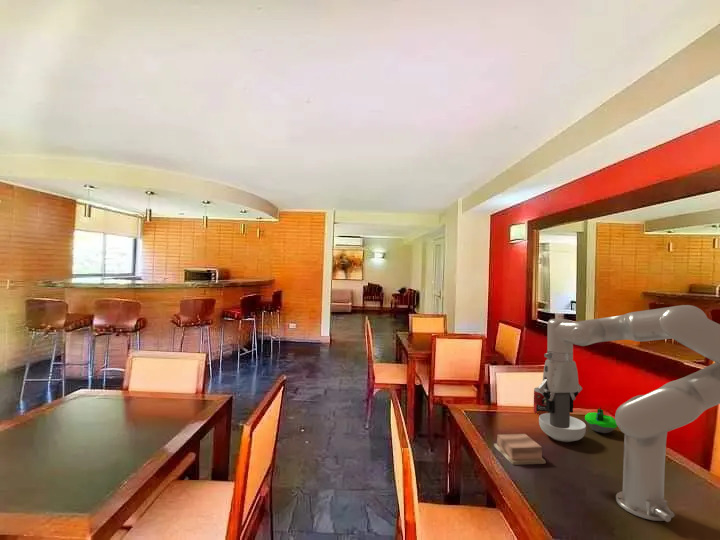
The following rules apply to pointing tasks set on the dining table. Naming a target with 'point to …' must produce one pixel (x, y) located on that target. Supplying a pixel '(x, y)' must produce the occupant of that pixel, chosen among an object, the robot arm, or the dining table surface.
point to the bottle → (561, 411)
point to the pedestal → (519, 449)
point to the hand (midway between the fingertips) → (559, 411)
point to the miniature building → (600, 422)
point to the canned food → (539, 402)
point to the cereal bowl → (563, 429)
